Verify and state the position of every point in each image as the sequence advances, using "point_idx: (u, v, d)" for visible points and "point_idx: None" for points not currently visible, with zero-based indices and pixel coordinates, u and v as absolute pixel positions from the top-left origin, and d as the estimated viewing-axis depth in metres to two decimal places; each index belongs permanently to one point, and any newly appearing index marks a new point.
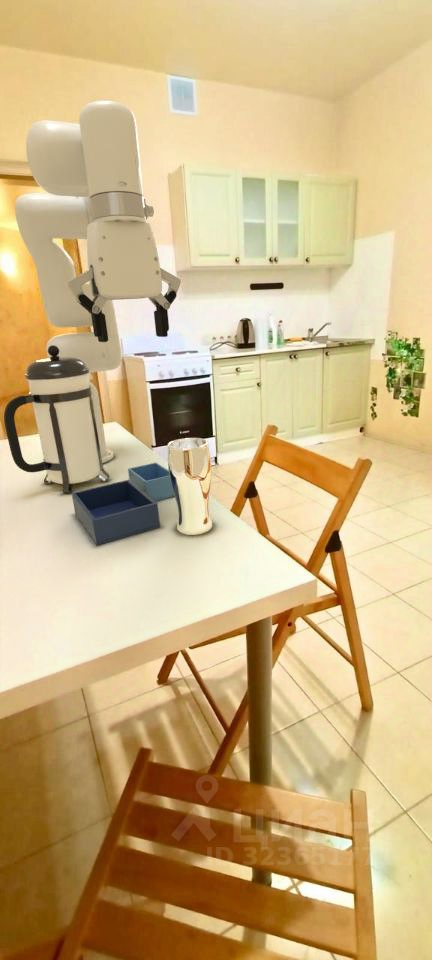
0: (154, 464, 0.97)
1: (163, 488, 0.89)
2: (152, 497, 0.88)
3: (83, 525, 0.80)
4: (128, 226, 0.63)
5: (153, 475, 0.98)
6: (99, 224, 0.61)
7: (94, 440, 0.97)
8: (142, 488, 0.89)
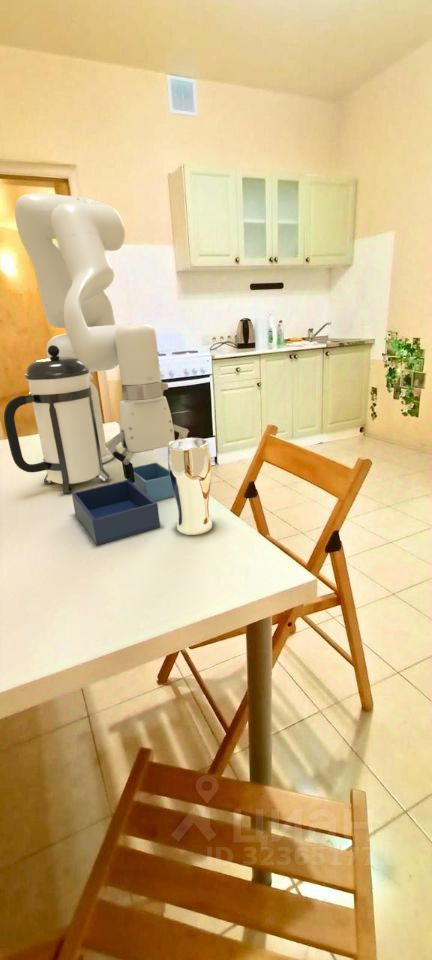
0: (154, 464, 0.97)
1: (163, 488, 0.89)
2: (152, 497, 0.88)
3: (83, 525, 0.80)
4: (150, 403, 0.85)
5: (153, 475, 0.98)
6: (129, 405, 0.84)
7: (94, 440, 0.97)
8: (142, 488, 0.89)
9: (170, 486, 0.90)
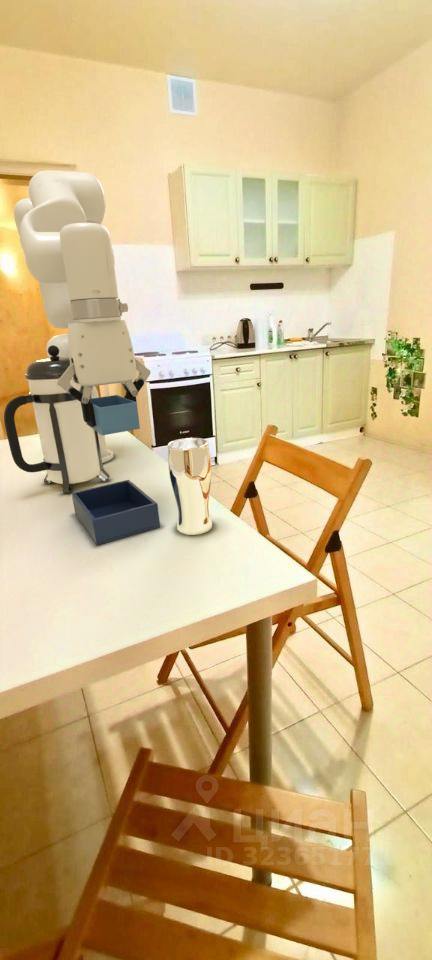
0: (115, 396, 0.82)
1: (122, 418, 0.74)
2: (108, 428, 0.73)
3: (83, 525, 0.80)
4: (104, 325, 0.70)
5: None
6: (78, 325, 0.69)
7: (94, 440, 0.97)
8: (96, 418, 0.74)
9: (130, 416, 0.74)
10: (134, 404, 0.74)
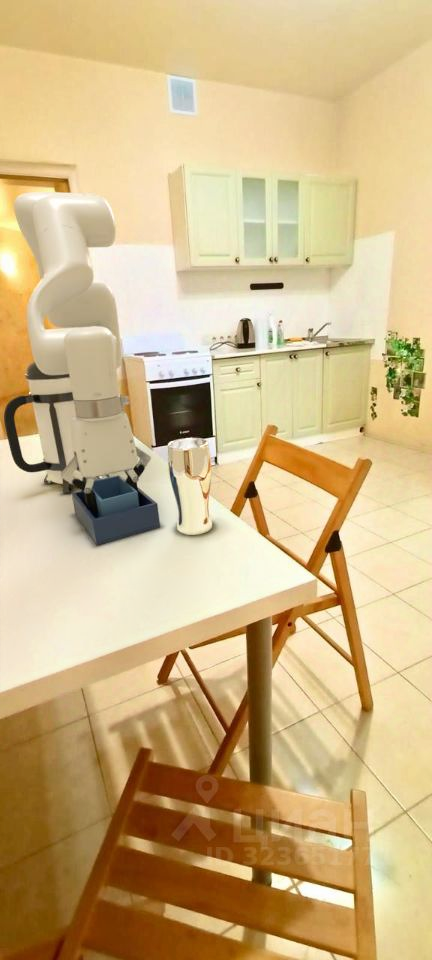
0: (116, 477, 0.85)
1: (123, 507, 0.76)
2: None
3: (83, 525, 0.80)
4: (106, 422, 0.73)
5: (115, 490, 0.85)
6: (81, 424, 0.72)
7: None
8: (98, 507, 0.76)
9: (131, 505, 0.77)
10: (135, 493, 0.77)
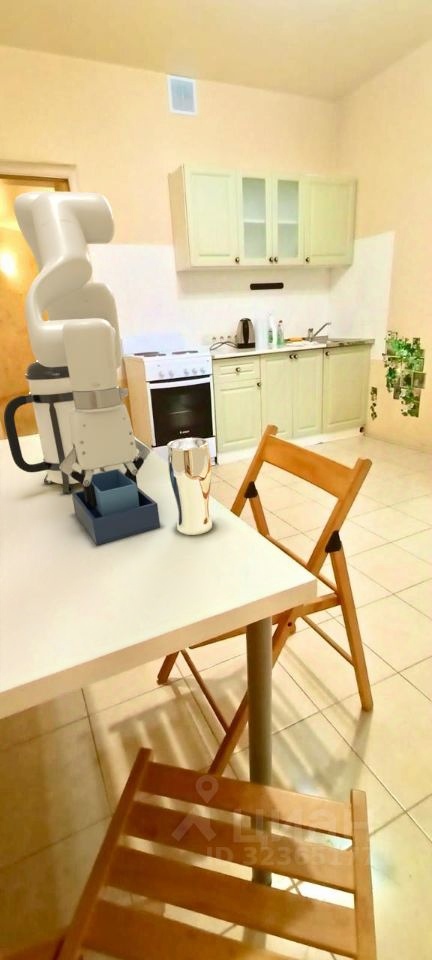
0: (116, 471, 0.84)
1: (122, 500, 0.76)
2: (109, 511, 0.75)
3: (83, 525, 0.80)
4: (105, 413, 0.72)
5: (115, 483, 0.84)
6: (80, 415, 0.71)
7: None
8: (97, 500, 0.76)
9: (131, 498, 0.76)
10: (134, 486, 0.76)
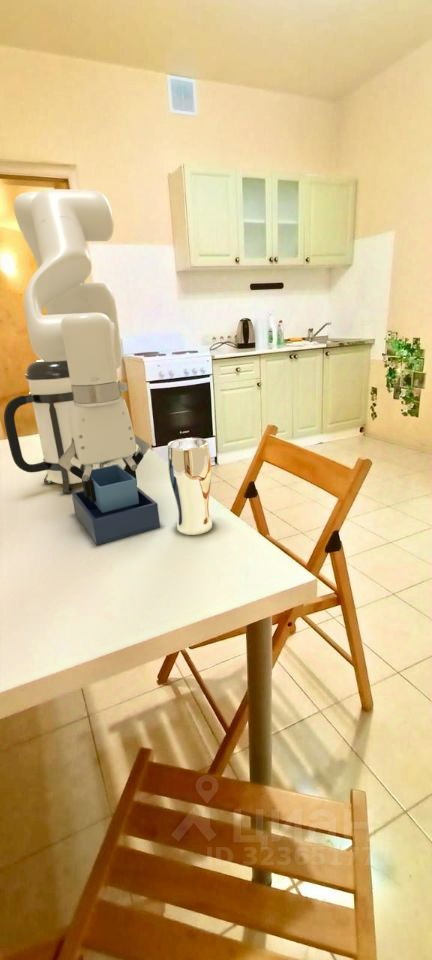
0: (115, 466, 0.84)
1: (122, 495, 0.75)
2: (108, 506, 0.75)
3: (83, 525, 0.80)
4: (104, 407, 0.72)
5: (114, 479, 0.84)
6: (79, 409, 0.71)
7: None
8: (96, 495, 0.75)
9: (130, 493, 0.76)
10: (133, 481, 0.76)
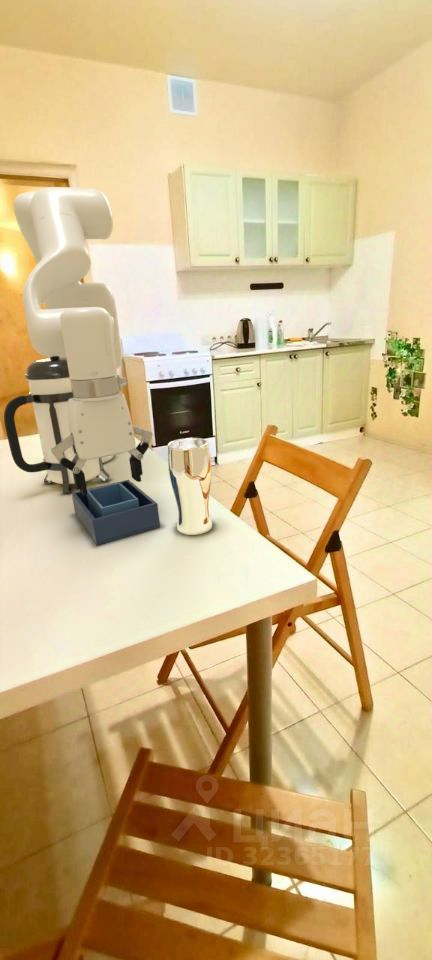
0: (117, 485, 0.85)
1: None
2: None
3: (83, 525, 0.80)
4: (103, 402, 0.72)
5: (116, 497, 0.86)
6: (78, 404, 0.70)
7: None
8: (99, 515, 0.77)
9: None
10: (136, 501, 0.77)
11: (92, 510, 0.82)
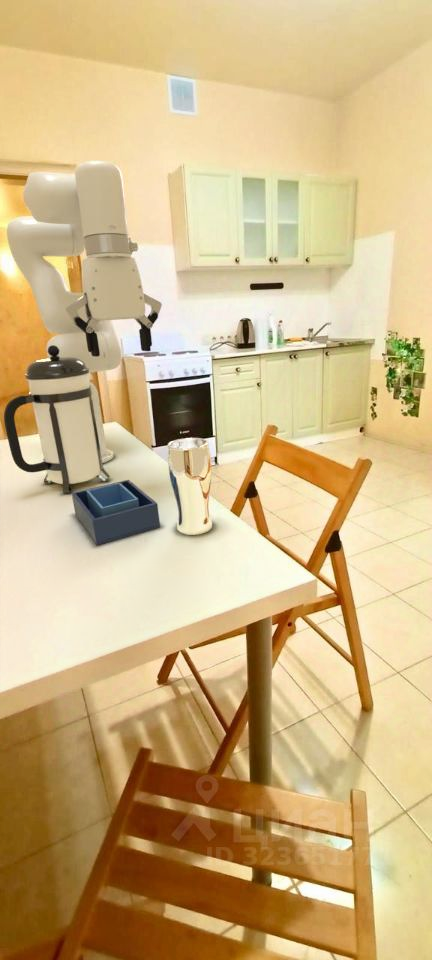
0: (117, 485, 0.85)
1: None
2: None
3: (83, 525, 0.80)
4: (116, 261, 0.75)
5: (116, 497, 0.86)
6: (91, 260, 0.74)
7: (94, 440, 0.97)
8: (99, 515, 0.77)
9: None
10: (136, 501, 0.77)
11: (92, 510, 0.82)
